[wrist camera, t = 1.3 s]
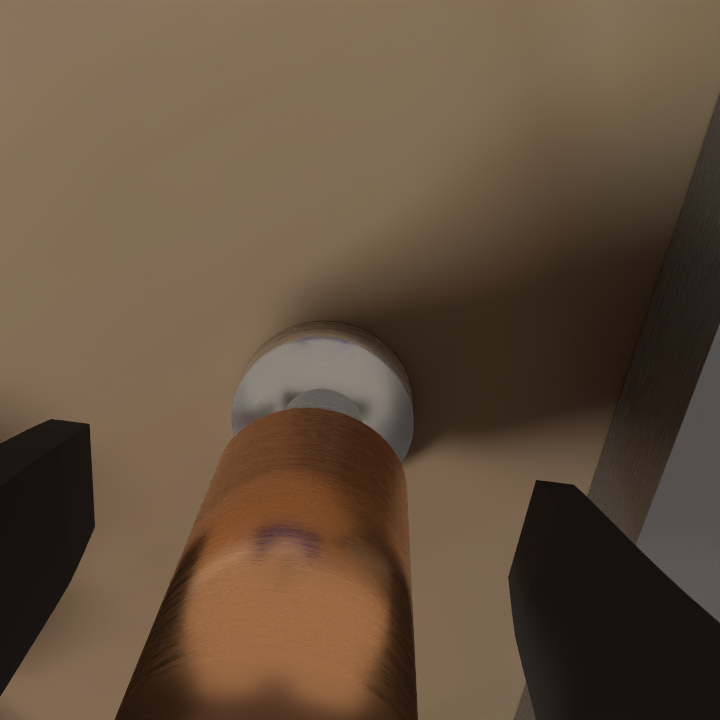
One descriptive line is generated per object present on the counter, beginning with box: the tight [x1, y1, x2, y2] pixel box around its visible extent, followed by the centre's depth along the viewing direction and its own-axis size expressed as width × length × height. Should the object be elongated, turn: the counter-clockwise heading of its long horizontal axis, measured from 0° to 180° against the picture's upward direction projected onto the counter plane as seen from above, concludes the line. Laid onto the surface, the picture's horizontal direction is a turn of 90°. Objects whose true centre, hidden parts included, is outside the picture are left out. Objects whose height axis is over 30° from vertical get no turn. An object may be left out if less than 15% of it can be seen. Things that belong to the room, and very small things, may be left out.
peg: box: [115, 321, 418, 720], centre depth 10 cm, size 4×4×8 cm
